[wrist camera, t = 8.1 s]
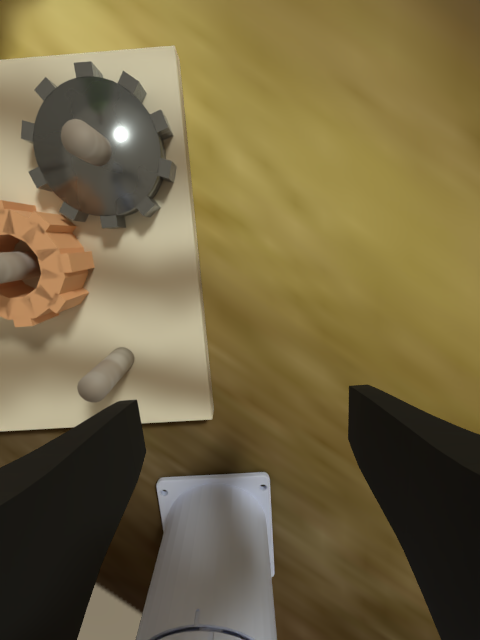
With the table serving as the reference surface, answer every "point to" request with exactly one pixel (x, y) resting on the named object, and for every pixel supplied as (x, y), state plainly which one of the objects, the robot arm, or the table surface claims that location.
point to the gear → (123, 135)
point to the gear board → (106, 269)
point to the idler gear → (42, 264)
